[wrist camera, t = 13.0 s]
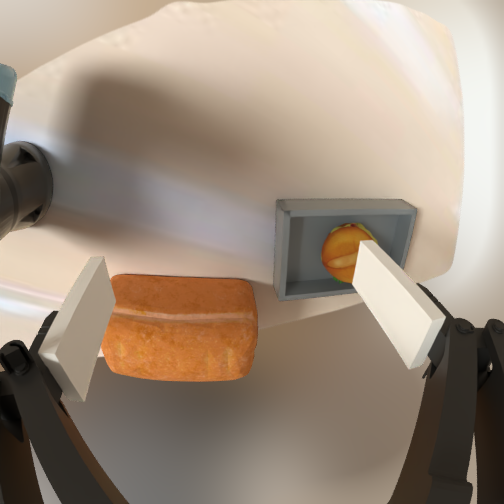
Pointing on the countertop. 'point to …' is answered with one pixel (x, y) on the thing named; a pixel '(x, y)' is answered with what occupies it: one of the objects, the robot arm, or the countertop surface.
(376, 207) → the box
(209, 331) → the bread
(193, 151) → the countertop surface
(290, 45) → the countertop surface
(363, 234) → the cheeseburger
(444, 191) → the countertop surface
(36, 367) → the robot arm
